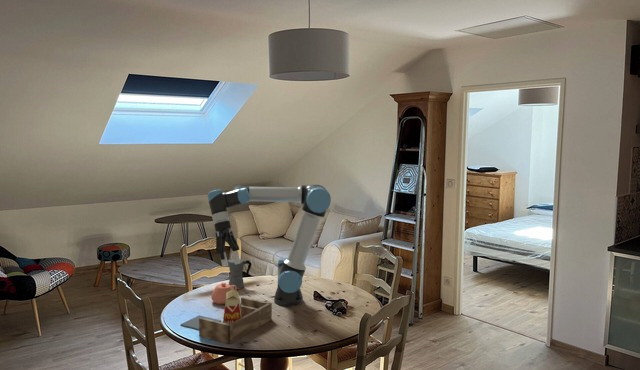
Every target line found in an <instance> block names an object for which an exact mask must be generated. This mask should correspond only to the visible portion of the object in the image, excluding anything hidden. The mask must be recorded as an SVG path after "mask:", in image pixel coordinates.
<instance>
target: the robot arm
mask: <svg viewBox="0 0 640 370" xmlns="http://www.w3.org/2000/svg"><path fill="white" fill-rule="evenodd" d="M331 197H332V196H331V194H330V192H329V191H328V190H327V189H326V187H324V186H323V185H320V184H305V185H304V184H303V185H302V184H301V185H299V186H298V187H297V186H296V187H295V186H294V187H293V186H243V185H235V187H233V188H232V189H231V190H230V191H227V192H223V190H222V189H214V190H211V191H209V192H208V193H207V200H208V205H209V208H210V212H211V213H210V214H211V218H212V222H213V223H214V230H215V239H216V240H215V250H216V251H215V252H216V254H217V255H219V258H220V261H221V262H220V263H221V266H222V268H225V267H229V266H228V261H227V260H228V258H227V254H226V251H225V247H226V243H227V244H228V246H229V247H230V249H231V253H232V259H234V263H235V265H236V264H240V259H241V258H240V255H239V250H240V246H239V244H238V242H237V239H236V238H235V236H234V232H233V231H232V230H230V229H231V228H232V225H231V221H230V218H229V212H228V208H232V207H236V206H240V205H245V204H247V203H250V202H276V203H278V202H280V203H281V202H283V203H285V202H286V203H299V204H300V205H302V208H301V211H302V213H303V214H302V217H301V220H300V223H299V226H298V229H297V231H296V234H295V237H294V240H293V243H292V245H291V249H290V252H289V254H288V256H287V257H282V258H279V259H278V260H277V287H276V290H275V294H274V299H273V302H274V303H275V304H276V305H279V306H282V307H283V306H284V307H293V306H292V305H295V306H299V305H301V304H302V303H303V302H304V297H303V293H302V290H301V288H302V285H303V277H304V275H305V272H306V269H307V267H306V266H305V263H306V260H307V257H308V255H309V252H310V249H311V245H312V243H313V240H314V237H315V234H316V233H317V232H316V231H317V229H318V225H319V224H320V220H321V219H324V218H325V215H326V212H327V210H328V209H329V208H330V206H331V202H332V198H331ZM229 230H230V231H229ZM300 303H301V304H300ZM298 304H299V305H298Z"/></svg>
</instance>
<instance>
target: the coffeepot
mask: <svg viewBox="0 0 640 370" xmlns="http://www.w3.org/2000/svg"><path fill="white" fill-rule="evenodd" d="M239 259H240V264H236V265H235V263H234V258H232V259H227V261H228V266H227V267H228V268H229V269H228V270H229V273H230V274H229V280H228V284H229V285H230V286H231V285H235V286H236V287H237V290H239V289H242V288H244V287H245V284H244V283H245V282H244V277H243V272H244V266H245V264H246V265H247V269H246V272H244V275H246V276H247V275H249V274H250V271H251V268H252V262H251V261H250V260H245V259H242V258H239ZM232 288H233V287H232ZM234 290H235V287H234Z"/></svg>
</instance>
